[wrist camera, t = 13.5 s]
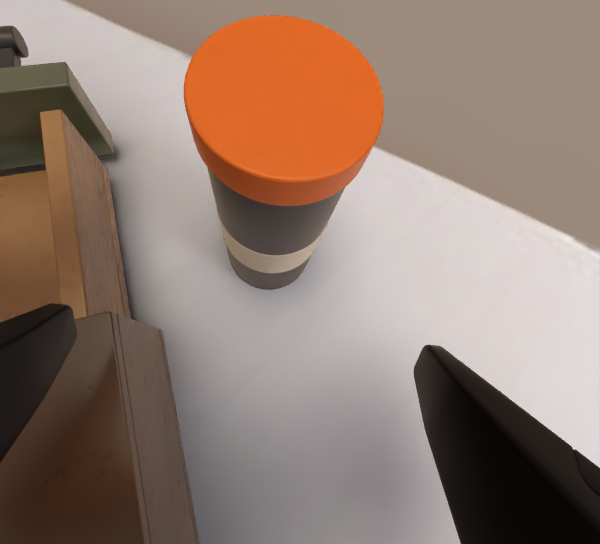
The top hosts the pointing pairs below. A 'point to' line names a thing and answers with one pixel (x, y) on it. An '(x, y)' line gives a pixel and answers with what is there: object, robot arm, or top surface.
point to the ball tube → (280, 136)
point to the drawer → (54, 193)
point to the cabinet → (101, 448)
